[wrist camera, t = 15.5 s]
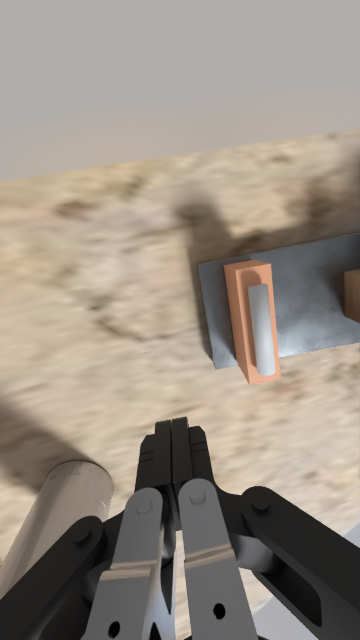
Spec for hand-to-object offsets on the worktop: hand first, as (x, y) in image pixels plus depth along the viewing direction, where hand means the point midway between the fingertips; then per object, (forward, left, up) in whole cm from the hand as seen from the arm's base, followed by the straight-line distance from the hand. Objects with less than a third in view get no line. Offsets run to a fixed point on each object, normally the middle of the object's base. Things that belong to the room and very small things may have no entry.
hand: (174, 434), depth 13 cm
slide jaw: (0, -8, -17) cm, 18 cm away
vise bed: (0, -16, -19) cm, 25 cm away
